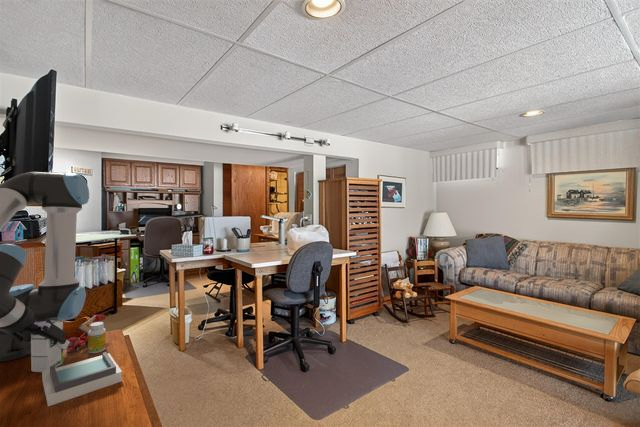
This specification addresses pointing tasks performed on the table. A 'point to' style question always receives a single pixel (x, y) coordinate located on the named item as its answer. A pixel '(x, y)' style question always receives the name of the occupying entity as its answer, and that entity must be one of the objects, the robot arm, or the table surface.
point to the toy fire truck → (83, 341)
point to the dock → (80, 378)
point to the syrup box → (45, 352)
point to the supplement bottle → (96, 338)
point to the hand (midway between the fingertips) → (56, 345)
